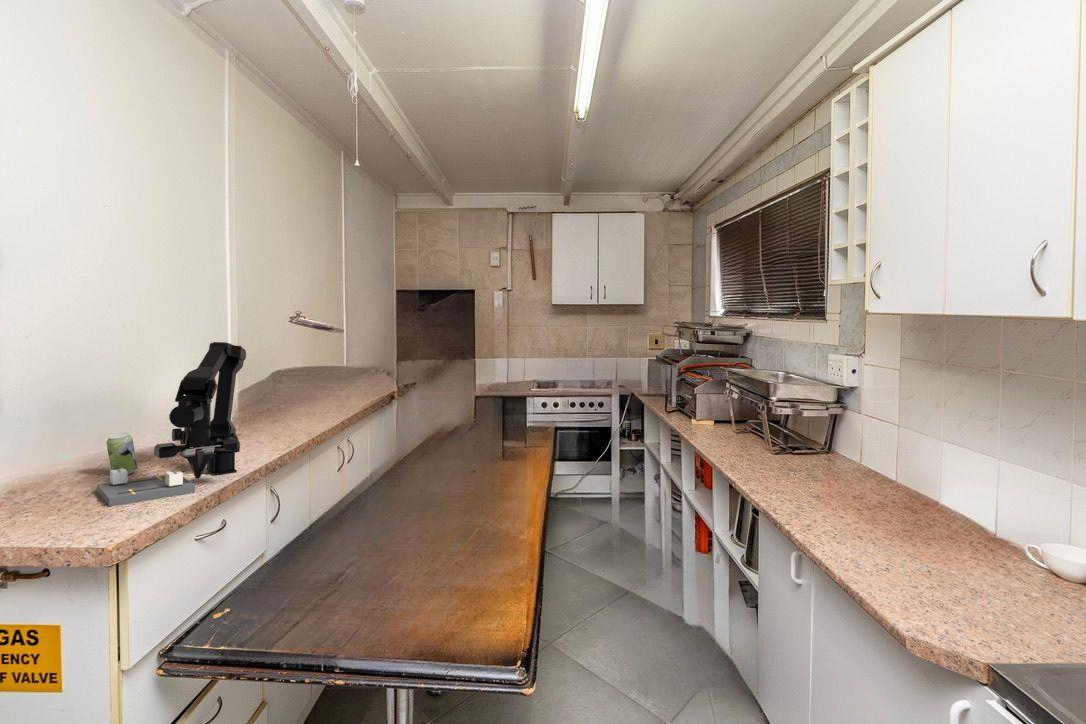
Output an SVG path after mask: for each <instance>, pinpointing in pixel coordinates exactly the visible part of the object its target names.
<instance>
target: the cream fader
mask: <svg viewBox="0 0 1086 724" xmlns="http://www.w3.org/2000/svg"><path fill="white" fill-rule="evenodd" d="M164 475H165V483H166V484H167V485H168V486H175V485H181V484H183V477H184V473H183V472H182V471H181V470H179V469H177V470H169V471H165V472H164Z"/></svg>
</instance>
